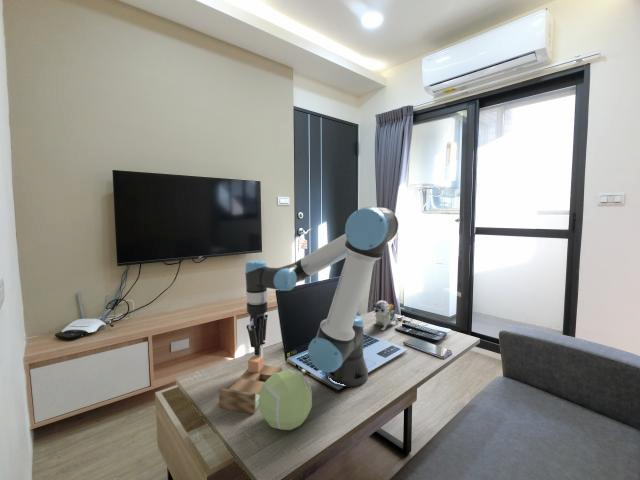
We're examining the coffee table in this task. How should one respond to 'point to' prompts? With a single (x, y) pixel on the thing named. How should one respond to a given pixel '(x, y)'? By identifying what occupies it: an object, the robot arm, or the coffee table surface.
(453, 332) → the coffee table surface
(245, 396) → the wooden box
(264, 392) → the decorative sphere
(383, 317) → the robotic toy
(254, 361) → the cube
